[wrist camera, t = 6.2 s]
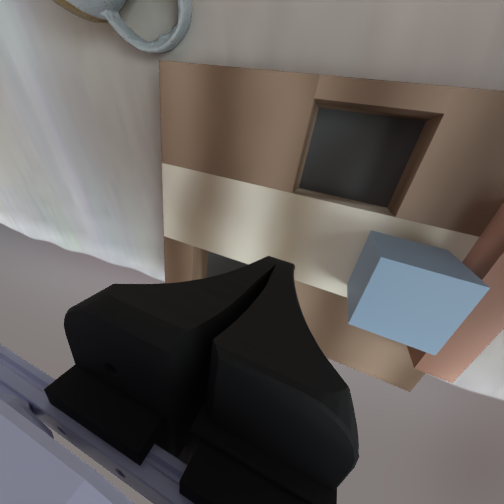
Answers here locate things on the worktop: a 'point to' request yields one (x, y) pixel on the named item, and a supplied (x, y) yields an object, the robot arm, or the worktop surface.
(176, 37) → the ceramic mug
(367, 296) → the block
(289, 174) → the trap board
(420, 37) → the worktop surface
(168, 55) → the worktop surface
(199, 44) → the worktop surface
